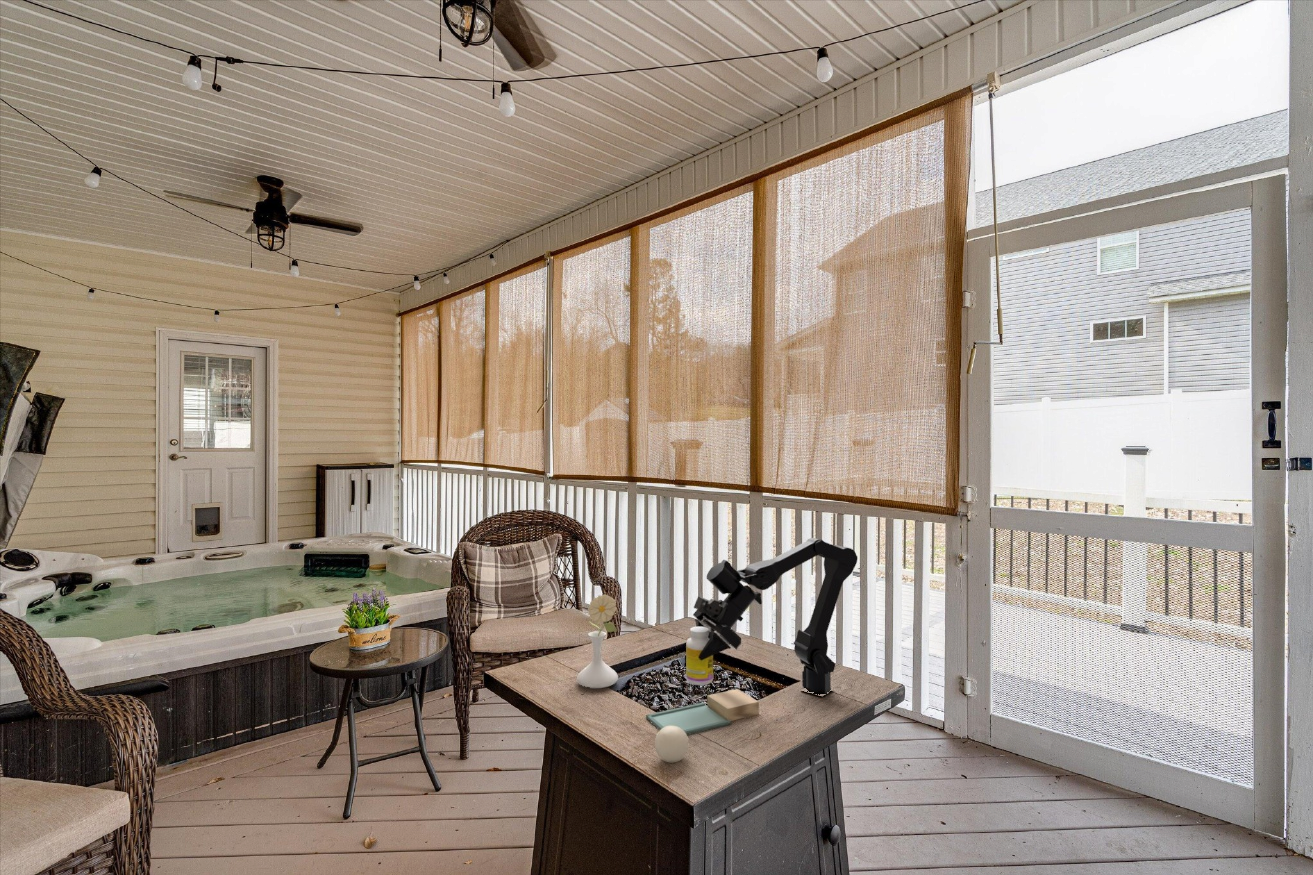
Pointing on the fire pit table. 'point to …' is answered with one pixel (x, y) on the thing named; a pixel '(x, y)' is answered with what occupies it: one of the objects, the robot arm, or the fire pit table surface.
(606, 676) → the flower in vase
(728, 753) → the fire pit table surface
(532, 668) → the fire pit table surface
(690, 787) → the fire pit table surface
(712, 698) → the block
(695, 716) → the tray
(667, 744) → the cream white ball
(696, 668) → the supplement bottle
